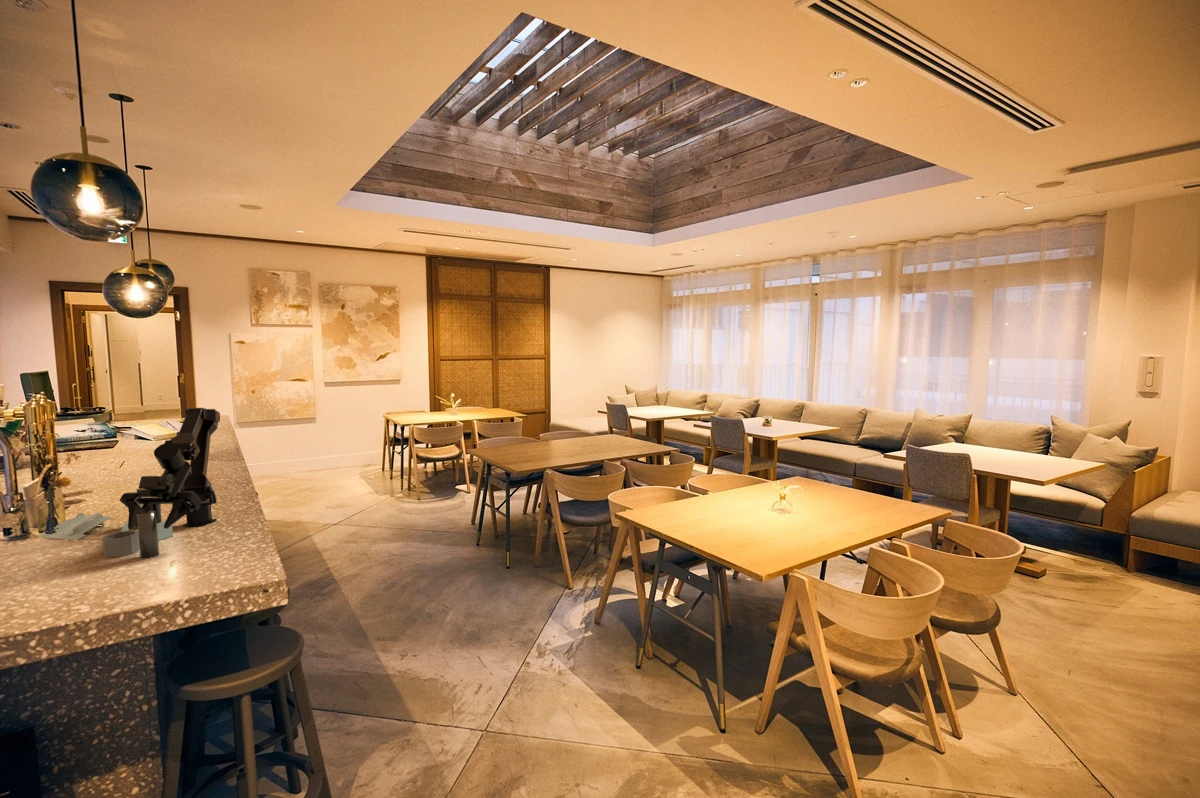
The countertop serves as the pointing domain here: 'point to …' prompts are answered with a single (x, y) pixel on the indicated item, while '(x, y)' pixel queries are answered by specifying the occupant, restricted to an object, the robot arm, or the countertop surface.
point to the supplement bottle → (151, 506)
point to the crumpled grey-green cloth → (76, 527)
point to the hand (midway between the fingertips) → (147, 528)
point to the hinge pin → (148, 534)
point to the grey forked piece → (129, 540)
